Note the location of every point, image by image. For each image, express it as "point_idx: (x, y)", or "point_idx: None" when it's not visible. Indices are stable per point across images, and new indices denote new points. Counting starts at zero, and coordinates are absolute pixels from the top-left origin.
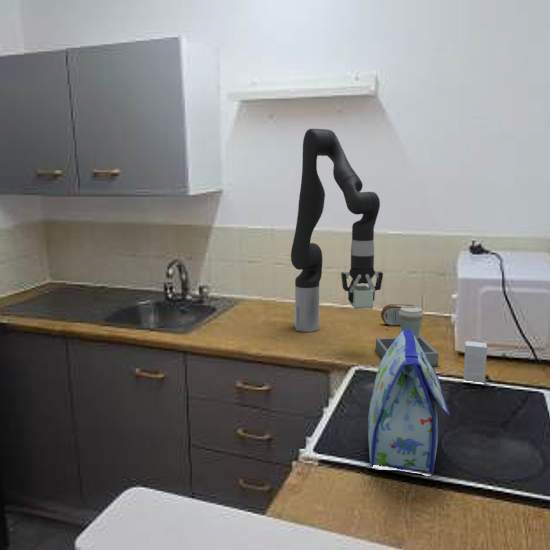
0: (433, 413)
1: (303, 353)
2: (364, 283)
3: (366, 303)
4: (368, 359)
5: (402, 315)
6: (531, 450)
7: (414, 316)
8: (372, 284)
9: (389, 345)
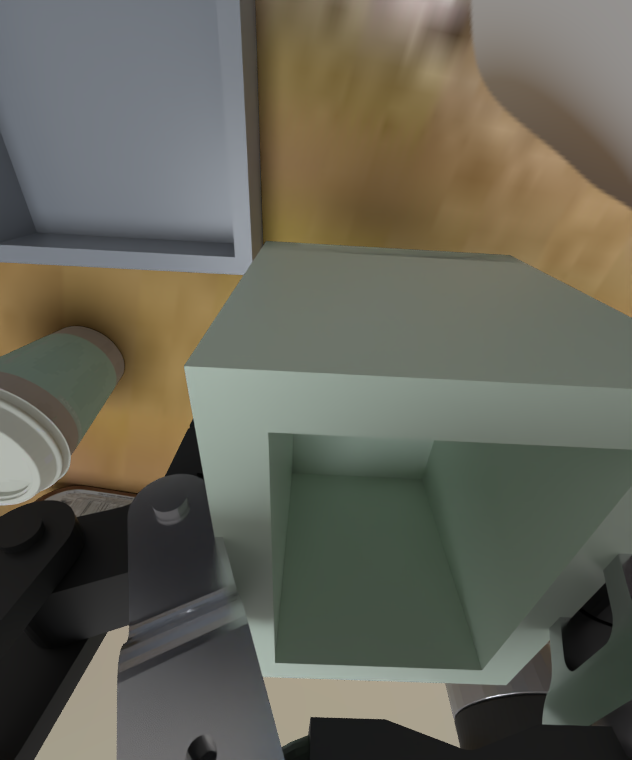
0: None
1: (605, 279)
2: (396, 726)
3: (362, 265)
4: (331, 131)
5: (44, 417)
6: None
7: None
8: (139, 659)
9: (187, 245)
